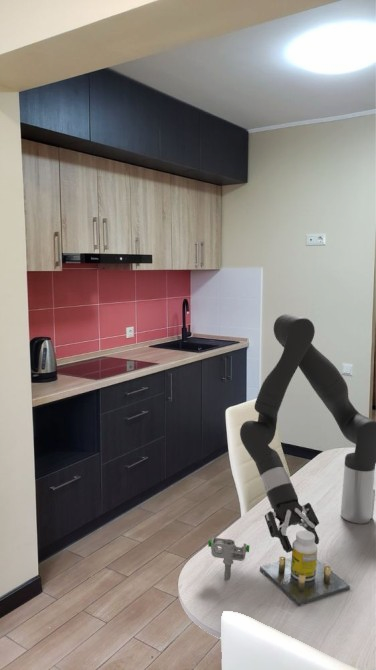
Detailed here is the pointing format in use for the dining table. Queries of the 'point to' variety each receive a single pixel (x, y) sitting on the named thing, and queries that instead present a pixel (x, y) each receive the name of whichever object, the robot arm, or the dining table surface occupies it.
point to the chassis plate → (310, 586)
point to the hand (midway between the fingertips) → (303, 548)
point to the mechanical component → (227, 553)
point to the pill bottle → (304, 555)
